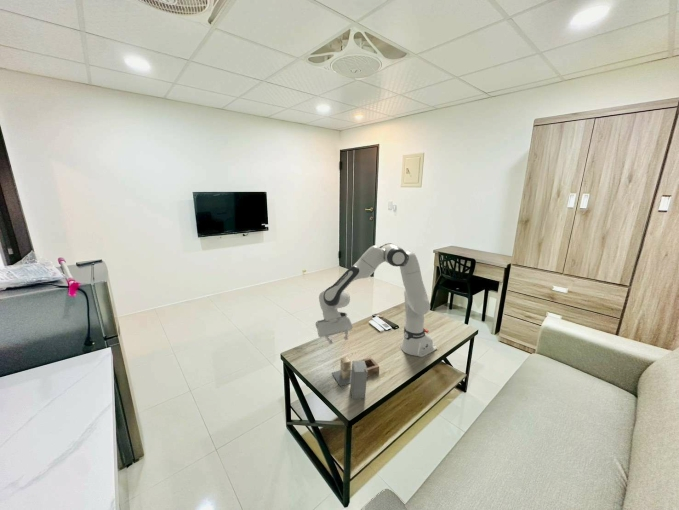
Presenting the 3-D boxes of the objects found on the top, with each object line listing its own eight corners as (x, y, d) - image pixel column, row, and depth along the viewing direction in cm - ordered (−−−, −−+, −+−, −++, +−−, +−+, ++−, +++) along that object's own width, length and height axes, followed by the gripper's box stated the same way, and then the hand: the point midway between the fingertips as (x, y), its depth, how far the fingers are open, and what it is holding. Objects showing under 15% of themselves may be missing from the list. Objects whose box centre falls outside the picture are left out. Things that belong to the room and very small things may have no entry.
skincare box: (350, 387, 138) (350, 360, 134) (363, 386, 139) (364, 359, 135) (352, 399, 130) (352, 371, 126) (366, 398, 130) (368, 370, 126)
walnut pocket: (370, 363, 157) (370, 357, 156) (379, 372, 149) (379, 366, 148) (356, 367, 153) (357, 361, 152) (364, 377, 145) (365, 370, 144)
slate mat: (349, 368, 152) (349, 367, 152) (359, 380, 143) (359, 379, 142) (331, 373, 148) (331, 372, 148) (340, 386, 138) (340, 385, 138)
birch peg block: (347, 372, 148) (347, 356, 145) (350, 377, 144) (350, 361, 142) (340, 374, 146) (340, 358, 144) (343, 379, 143) (343, 363, 140)
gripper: (315, 319, 148) (322, 344, 142) (349, 312, 157) (356, 335, 150) (313, 323, 153) (319, 347, 147) (345, 316, 162) (353, 338, 155)
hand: (338, 341), depth 149 cm, fingers open, 8 cm apart
